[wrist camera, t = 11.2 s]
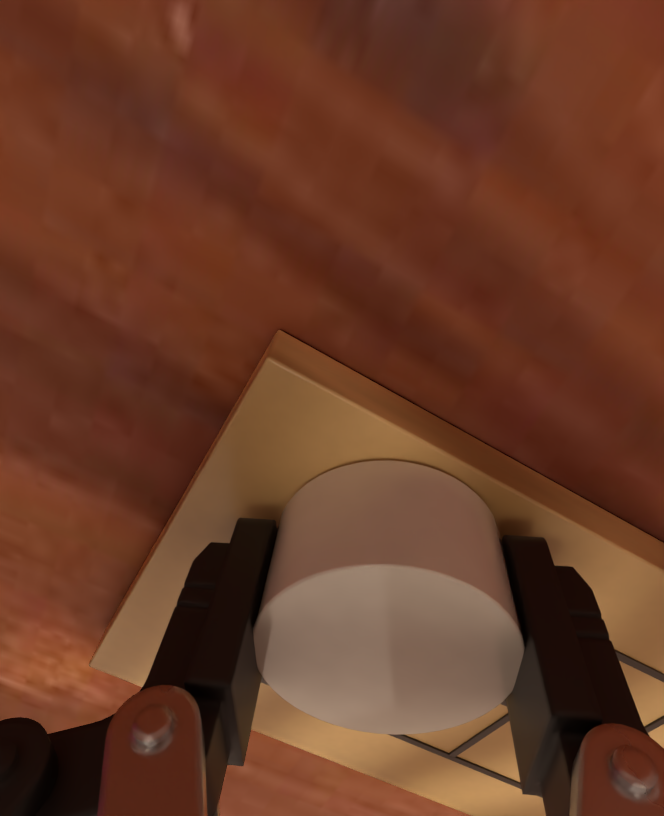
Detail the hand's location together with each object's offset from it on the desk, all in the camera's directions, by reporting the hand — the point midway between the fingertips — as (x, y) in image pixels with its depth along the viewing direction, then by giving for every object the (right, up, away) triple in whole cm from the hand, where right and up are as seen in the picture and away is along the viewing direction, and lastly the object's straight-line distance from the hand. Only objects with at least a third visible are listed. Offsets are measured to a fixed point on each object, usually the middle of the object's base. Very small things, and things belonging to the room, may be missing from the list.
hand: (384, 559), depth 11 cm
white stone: (0, 0, 0) cm, 0 cm away
